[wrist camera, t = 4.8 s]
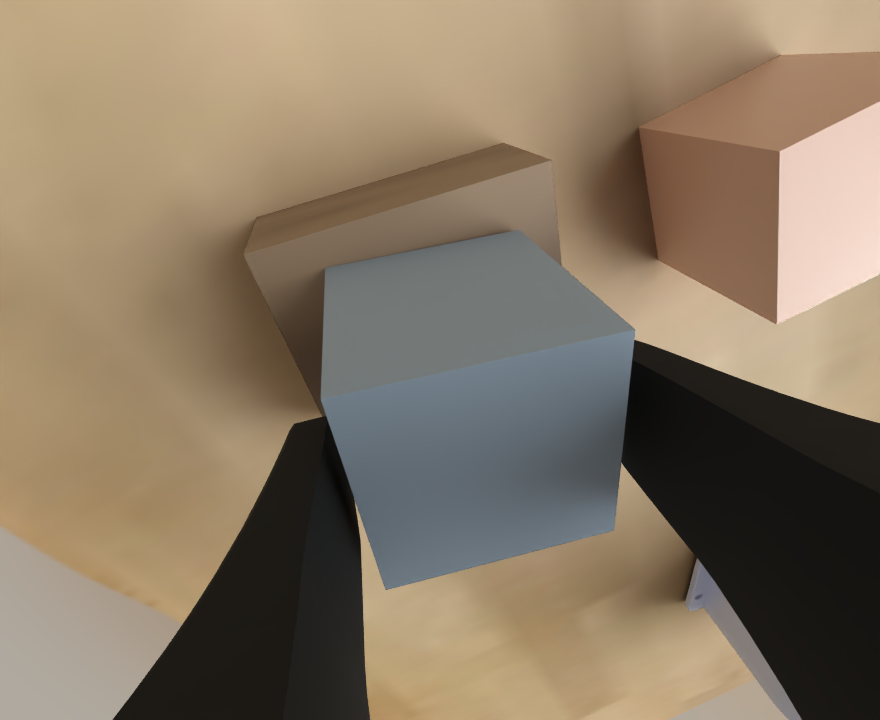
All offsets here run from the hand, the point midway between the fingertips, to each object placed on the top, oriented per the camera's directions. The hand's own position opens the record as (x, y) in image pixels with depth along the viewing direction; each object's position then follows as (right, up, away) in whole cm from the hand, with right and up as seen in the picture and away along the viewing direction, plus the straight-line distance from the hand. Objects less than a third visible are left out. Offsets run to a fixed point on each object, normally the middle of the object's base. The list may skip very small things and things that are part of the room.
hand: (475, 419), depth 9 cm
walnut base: (-2, +3, +6) cm, 7 cm away
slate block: (-1, +2, +3) cm, 3 cm away
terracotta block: (+8, +7, +6) cm, 12 cm away
